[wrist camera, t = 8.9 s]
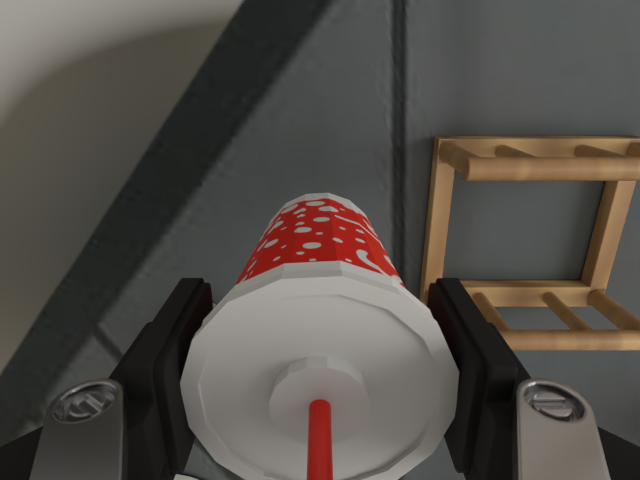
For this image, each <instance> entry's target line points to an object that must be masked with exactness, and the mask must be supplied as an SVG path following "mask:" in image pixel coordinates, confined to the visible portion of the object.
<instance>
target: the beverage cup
mask: <svg viewBox="0 0 640 480" xmlns="http://www.w3.org/2000/svg"><path fill="white" fill-rule="evenodd" d="M458 381H459V370H458V368H457V366H456V364H455V361H454V359H453V357H452V354H451V352H450V350H449V348H448V345H447V343H446V341H445V338H444V336H443V334H442V332H441V329H440V327H439V325H438V323H437V321H436V320H434V318H433V316H432V314H431V311H430V309H429V308H427V307H426V306H425V305H424V304H423V303H422V302H420V301H419V300H418V299H417V298H416V297H414V296H413V295H412V294H411V293H410V292H409V291H407V290H406V288H405V286H404V284H403V283H402V281H401V279H400V277H399V275H398V273H397V272H396V270H395V268H394V266H393V264H392V262H391V261H390V259H389V257H388V255H387V253H386V251H385V250H384V248H383V246H382V244H381V242H380V240H379V239H378V237H377V235H376V233H375V231H374V229H373V228H372V226H371V224H370V222H369V220H368V218H367V217H366V215H365V214H364V213H363V212H362V211H361V210H360V209H359V208H358V207H357V206H355V205H354V204H353V203H352V202H351V201H350V200H348V199H345V198H342V197H339V196H336V195H333V194H330V193H315V194H305V195H303V196H300V197H298V198H296V199H294V200H292V201H290V202H288V203H286V204H285V205H284V206H283V207H282V208H281V209H280V210H279V211H278V213H277V214H276V215H275V216H274V217H273V218H272V219H271V221H270V223H269V225H268V227H267V228H266V230H265V232H264V234H263V236H262V237H261V239H260V241H259V243H258V245H257V246H256V248H255V250H254V252H253V254H252V255H251V257H250V259H249V261H248V263H247V264H246V266H245V268H244V270H243V272H242V274H241V275H240V277H239V279H238V281H237V283H236V284H235V286H234V287H233V288H232V290H231V291H230V292H229V293H228V294H227V295H226V296H225V297H224V298H223V299H222V300H221V301H220V302H219V304H218V305H217V306H216V307H215V308H214V309H213V310H212V311H211V312H210V313H209V314H208V315H207V317H206V318H205V319H204V320H203V323H202V326H201V327H200V329H199V330H198V331H197V332H196V333H195V335H194V337H193V339H192V342H191V346H190V349H189V353H188V356H187V360H186V363H185V367H184V370H183V374H182V377H181V381H180V386H181V393H182V398H183V403H184V407H185V412H186V416H187V421H188V425H189V428H190V429H191V430H192V431H193V433H194V434H195V435H196V437H197V438H198V439H199V440H200V442H201V443H202V444H203V446H204V447H205V448H206V449H207V451H208V452H209V453H210V455H211V456H212V457H213V459H214V460H215V461H216V462H217V463H219V464H221V465H222V466H224V467H225V468H227V469H229V470H230V471H232V472H234V473H235V474H237V475H239V476H240V477H242V478H243V479H245V480H397V479H399V478H400V477H402V476H403V475H404V474H406V473H407V472H408V471H410V470H411V469H412V468H414V467H415V466H416V465H418V464H419V463H420V462H422V461H423V460H424V459H426V458H427V457H428V456H430V455H431V454H432V453H433V452H434V450H435V449H436V447H437V445H438V444H439V442H440V441H441V439H442V437H443V436H444V434H445V432H446V431H447V429H448V427H449V426H450V424H451V422H452V421H453V419H454V417H455V411H456V405H457V393H458Z"/></svg>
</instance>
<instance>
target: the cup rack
mask: <svg viewBox="0 0 640 480" xmlns="http://www.w3.org/2000/svg"><path fill="white" fill-rule="evenodd" d="M455 169H456V170H457V171H458V172H460V173H461V174H462V177H463V180H465V181H606V182H605V186H604V190H603V194H602V198H601V202H600V206H599V210H598V214H597V218H596V222H595V226H594V230H593V233H592V237H591V241H590V245H589V249H588V253H587V257H586V261H585V265H584V269H583V273H582V277H581V280H460V282H461V283H462V285H463V286H464V288H465V289H466V291H467V292H468V294H469V295H470V297H471V298H472V300H473V301H474V303H475V304H476V305H477V307H478V308H479V310H480V311H481V313H482V314H483V316H484V317H485V319H486V320H487V321H488V322H490V323H493V324H494V325H495V327H496V328H497V330H498V331H499V332H500V334H501V335H502V337H503V338H504V340H505V341H506V342H507V344H508V345H509V347H510V348H511V350H640V320H639V319H638V318H636V317H635V316H634V315H633V314H631V313H630V312H629V311H627V310H626V309H625V308H623V307H622V306H621V305H619V304H618V303H617V302H615V301H614V300H613V299H612V298H610V297H609V296H608V295H606V294H605V290H606V286H607V283H608V279H609V276H610V272H611V269H612V265H613V262H614V258H615V254H616V251H617V247H618V244H619V240H620V237H621V233H622V230H623V226H624V222H625V219H626V215H627V212H628V208H629V205H630V201H631V198H632V194H633V190H634V187H635V183H636V181H640V137H637V136H435V139H434V149H433V159H432V170H431V181H430V191H429V201H428V211H427V222H426V232H425V242H424V252H423V262H422V273H421V283H420V293H419V300H420V302H422V303H423V304H424V305H425V306H426V307H427V300H428V291H429V285H430V283H435V282H436V279H437V278H442V273H443V265H444V256H445V248H446V239H447V231H448V222H449V214H450V205H451V197H452V188H453V180H454V171H455ZM494 307H549V308H550V309H551V310H552V311H553V312H554V313H555V314H556V315H557V316H558V317H559V318H560V319H561V320H562V321H563V322H564V323H565V324H566V325H567V326H568V327H569V328H570V329H571V330H511V329H510V327H509V326H508V325H507V323H506V322H505V321H504V319H503V318H502V317H501V315H500V314H499V313H498V312H497V310H496V309H495V308H494ZM569 307H594V308H595V309H597V310H598V311H599V312H600V313H601V314H602V315H604V316H605V317H606V318H607V319H608V320H610V321H611V322H612V323H613V324H614V325H615V326H617V327H618V328H619V329H620V330H592V329H591V328H590V327H589V326H588V325H587V324H586V323H585V322H584V321H583V320H582V319H581V318H580V317H578V316H577V315H576V314H575V313H574V312H573V311H572V310H571V309H570V308H569Z"/></svg>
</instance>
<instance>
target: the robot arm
mask: <svg viewBox="0 0 640 480" xmlns="http://www.w3.org/2000/svg"><path fill="white" fill-rule="evenodd" d="M427 308H429V309H430V311H431V314H432V316H433V318H434V320H436V321H437V323H438V325H439V327H440V329H441V332H442V334H443V336H444V338H445V341H446V343H447V345H448V348H449V350H450V352H451V354H452V357H453V359H454V361H455V364H456V366H457V368H458V370H459V381H458V393H457V405H456V411H455V417H454V419H453V421H452V422H451V424H450V426H449V427H448V429H447V431H446V432H445V434H444V438H445V441H446V443H447V446H448V449H449V452H450V455H451V458H452V461H453V464H454V467H455V469H456V471H457V472H458V473H464V476H465V479H466V480H640V447H639V446H637V445H635V444H632V443H630V442H628V441H626V440H624V439H622V438H620V437H618V436H616V435H614V434H612V433H610V432H608V431H606V430H604V429H601V428H599V427H597V424H596V420H595V416H594V413H593V410H592V408H591V406H590V404H589V402H588V401H587V400H586V399H585V398H584V397H583V396H582V395H581V394H579V393H578V392H577V391H575V390H574V389H572V388H570V387H568V386H566V385H564V384H562V383H559V382H556V381H553V380H549V379H542V378H531V377H530V376H529V374H528V373H527V371H526V370H525V368H524V367H523V365H522V364H521V363H520V361H519V360H518V358H517V357H516V355H515V354H514V353H513V351H512V350H511V348H510V347H509V345H508V344H507V342H506V341H505V340H504V338H503V337H502V335H501V334H500V332H499V331H498V330H497V328H496V327H495V325H494V324H493V323H490V322H487V320H486V319H485V317H484V316H483V314H482V313H481V311H480V310H479V308H478V307H477V305H476V304H475V303H474V301H473V300H472V298H471V297H470V295H469V294H468V292H467V291H466V289H465V288H464V286H463V285H462V283H461V282H460V280H459V279H458V278H437V279H436V282H435V283H430V285H429V291H428V300H427ZM212 310H213V302H212V293H211V286H210V283H204V280H203V278H182V279H181V280H180V281H179V283H178V284H177V286H176V287H175V289H174V290H173V292H172V293H171V295H170V296H169V298H168V299H167V301H166V302H165V304H164V305H163V307H162V308H161V310H160V311H159V312H158V314H157V315H156V317H155V318H154V320H153V321H152V322H149V323H147V324H146V325H145V326H144V328H143V329H142V331H141V332H140V333H139V335H138V336H137V338H136V339H135V341H134V342H133V344H132V345H131V346H130V348H129V349H128V351H127V352H126V354H125V355H124V356H123V358H122V359H121V361H120V362H119V364H118V365H117V367H116V368H115V369H114V371H113V372H112V374H111V375H110V377H109V378H98V379H91V380H87V381H84V382H81V383H78V384H76V385H74V386H72V387H70V388H68V389H66V390H65V391H63V392H62V393H61V394H59V395H58V396H57V397H56V398H55V399H54V400H53V401H52V402H51V404H50V406H49V408H48V410H47V413H46V416H45V420H44V424H43V426H42V427H40V428H38V429H36V430H34V431H32V432H30V433H28V434H26V435H24V436H22V437H20V438H18V439H16V440H14V441H12V442H9V443H7V444H5V445H3V446H1V447H0V480H199V479H196V478H193V477H190V476H185V475H180V474H176V473H182V472H183V471H184V469H185V466H186V463H187V460H188V457H189V455H190V452H191V449H192V446H193V443H194V440H195V437H196V435H195V434H194V433H193V431H192V430H191V429H190V428H189V425H188V421H187V416H186V412H185V407H184V403H183V398H182V393H181V386H180V381H181V377H182V374H183V370H184V367H185V363H186V360H187V356H188V353H189V349H190V346H191V342H192V339H193V337H194V335H195V333H196V332H197V331H198V330H199V329H200V327H201V326H202V323H203V320H204V319H205V318H206V317H207V315H208V314H209V313H210V312H211V311H212Z"/></svg>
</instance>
